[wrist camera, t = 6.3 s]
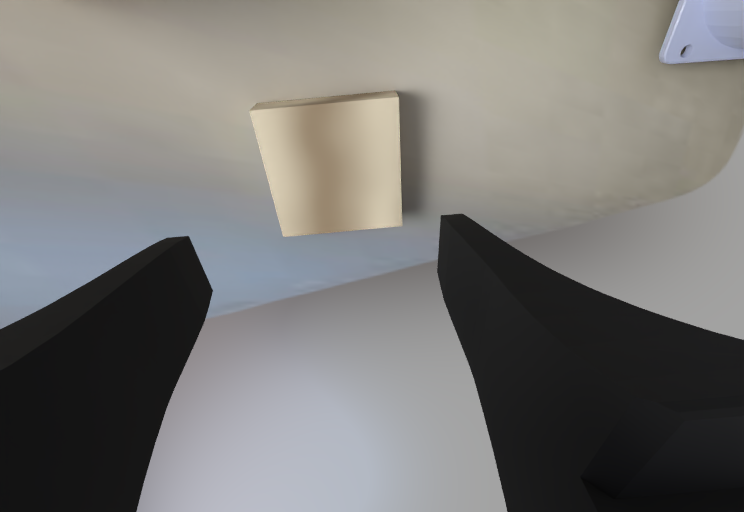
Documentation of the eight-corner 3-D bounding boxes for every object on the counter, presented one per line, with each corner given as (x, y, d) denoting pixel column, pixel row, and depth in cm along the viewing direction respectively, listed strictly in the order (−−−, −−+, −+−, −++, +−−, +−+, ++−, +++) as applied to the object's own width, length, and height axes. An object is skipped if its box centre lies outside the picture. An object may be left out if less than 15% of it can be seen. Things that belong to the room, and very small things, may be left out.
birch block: (394, 89, 17) (398, 96, 16) (398, 209, 22) (402, 225, 20) (258, 101, 17) (249, 110, 16) (288, 219, 22) (283, 236, 20)
